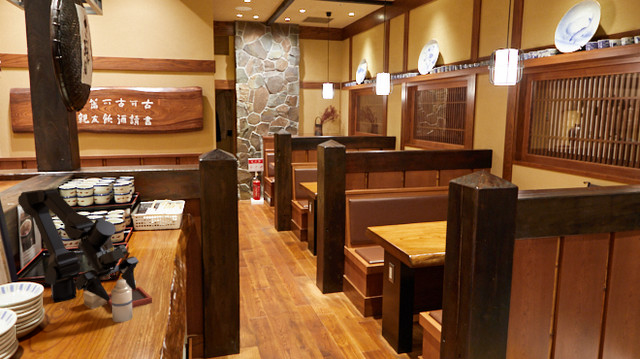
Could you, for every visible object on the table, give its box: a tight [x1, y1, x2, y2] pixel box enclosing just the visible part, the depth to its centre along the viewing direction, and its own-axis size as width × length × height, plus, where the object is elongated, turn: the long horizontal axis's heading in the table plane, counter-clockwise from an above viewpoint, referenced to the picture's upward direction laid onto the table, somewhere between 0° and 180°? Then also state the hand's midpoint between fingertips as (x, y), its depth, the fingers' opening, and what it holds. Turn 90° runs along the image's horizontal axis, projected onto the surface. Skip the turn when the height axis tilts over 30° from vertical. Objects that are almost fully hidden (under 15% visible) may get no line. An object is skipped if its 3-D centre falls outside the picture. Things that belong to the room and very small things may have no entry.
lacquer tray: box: [107, 286, 153, 309], centre depth 143 cm, size 12×12×2 cm
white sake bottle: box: [111, 278, 133, 323], centre depth 131 cm, size 6×6×12 cm
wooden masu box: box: [82, 290, 108, 310], centre depth 140 cm, size 5×5×4 cm
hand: (122, 294), depth 130 cm, fingers open, 9 cm apart
